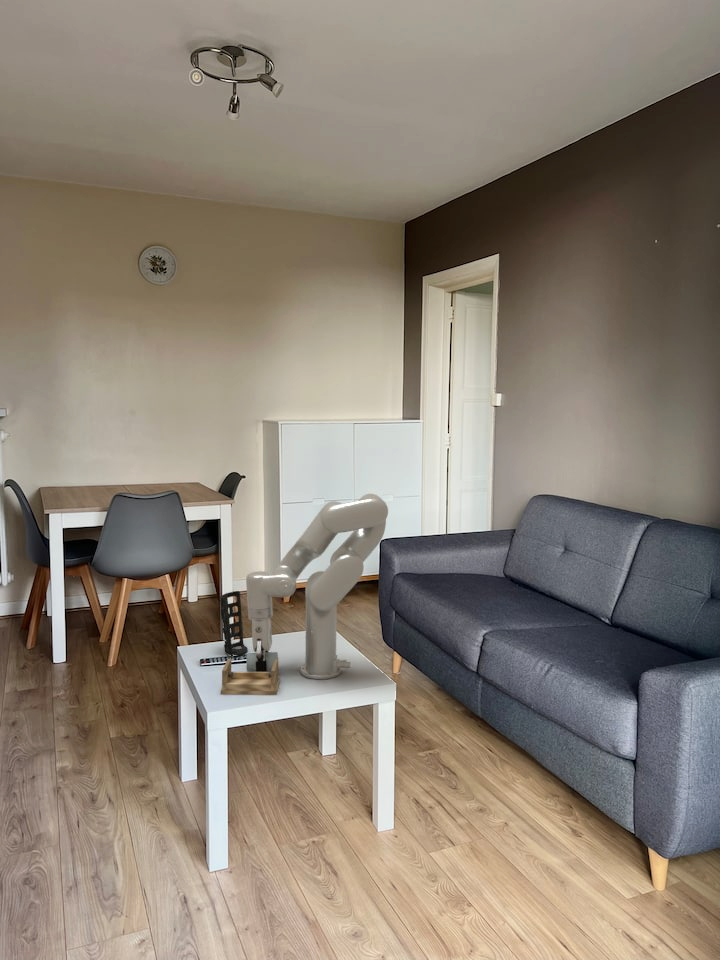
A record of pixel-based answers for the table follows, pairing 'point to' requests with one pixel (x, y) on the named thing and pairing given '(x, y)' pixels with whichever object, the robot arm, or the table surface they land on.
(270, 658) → the roll
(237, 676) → the cradle
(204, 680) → the table surface
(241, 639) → the holder
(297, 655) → the table surface
